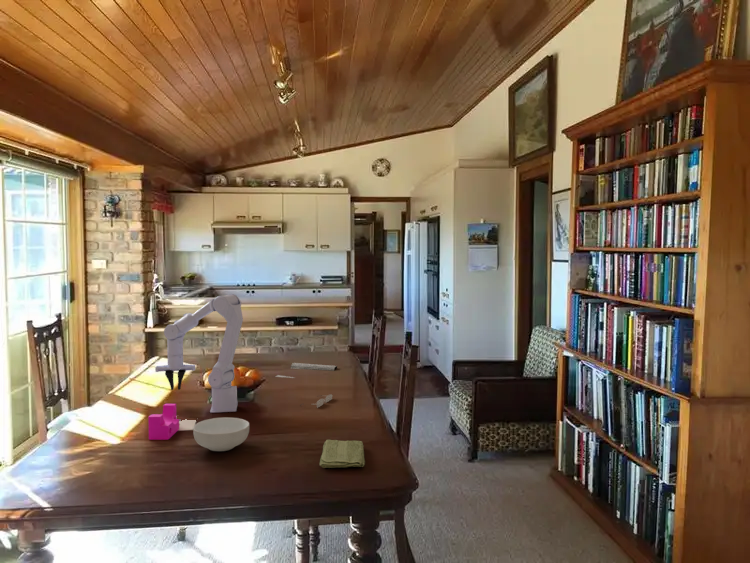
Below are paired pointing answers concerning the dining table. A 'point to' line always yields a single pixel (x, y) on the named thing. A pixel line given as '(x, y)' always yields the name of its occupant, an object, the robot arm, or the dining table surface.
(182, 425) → the white flat panel
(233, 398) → the robot arm
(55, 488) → the dining table surface
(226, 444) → the cereal bowl
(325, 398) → the eyeglasses
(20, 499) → the dining table surface
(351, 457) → the washcloth
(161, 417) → the toy block
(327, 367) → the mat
